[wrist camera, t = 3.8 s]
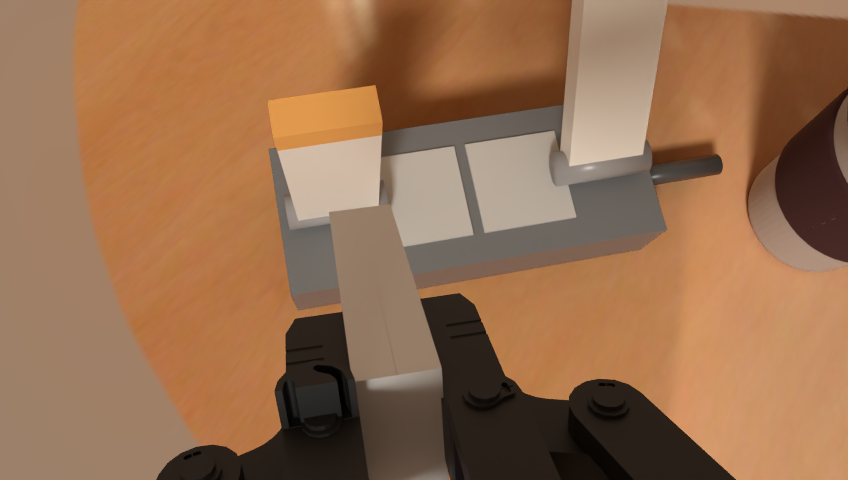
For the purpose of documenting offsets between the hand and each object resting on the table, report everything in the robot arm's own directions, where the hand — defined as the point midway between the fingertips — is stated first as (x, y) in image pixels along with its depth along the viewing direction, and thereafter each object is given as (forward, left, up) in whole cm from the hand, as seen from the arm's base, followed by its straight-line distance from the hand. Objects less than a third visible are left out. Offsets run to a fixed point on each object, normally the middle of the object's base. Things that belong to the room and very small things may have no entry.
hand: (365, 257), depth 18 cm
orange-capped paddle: (+7, -3, -18) cm, 19 cm away
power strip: (+3, -12, -23) cm, 26 cm away
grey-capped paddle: (+1, -16, -18) cm, 24 cm away
